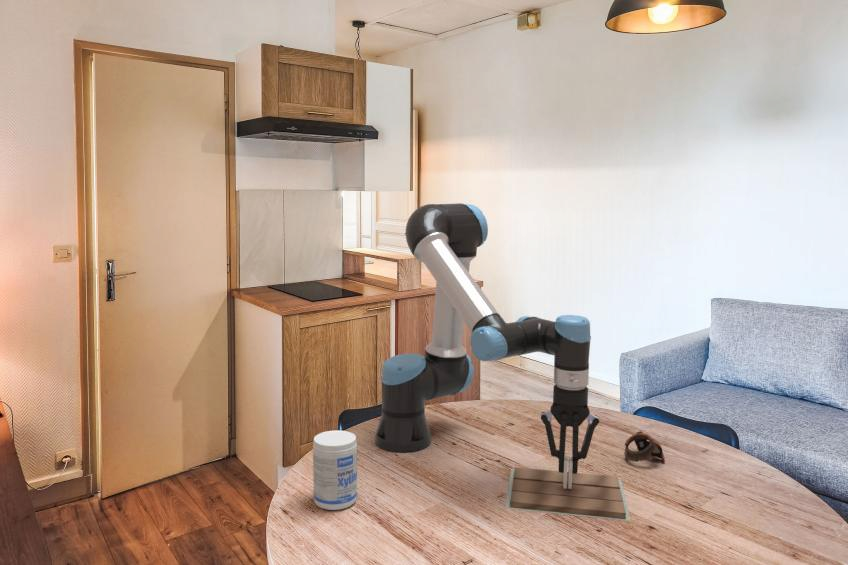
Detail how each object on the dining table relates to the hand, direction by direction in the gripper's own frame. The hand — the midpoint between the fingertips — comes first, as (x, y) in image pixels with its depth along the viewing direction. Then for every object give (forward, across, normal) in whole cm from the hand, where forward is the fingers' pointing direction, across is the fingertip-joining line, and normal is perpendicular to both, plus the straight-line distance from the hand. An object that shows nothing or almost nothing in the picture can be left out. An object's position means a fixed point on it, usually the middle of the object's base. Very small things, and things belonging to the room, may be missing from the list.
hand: (567, 485), depth 146 cm
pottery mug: (+2, +20, +23) cm, 30 cm away
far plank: (+1, 0, +5) cm, 5 cm away
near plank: (+1, 0, -1) cm, 2 cm away
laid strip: (+2, 0, -7) cm, 7 cm away
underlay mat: (+2, 0, 0) cm, 2 cm away
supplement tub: (+2, -50, -14) cm, 52 cm away
